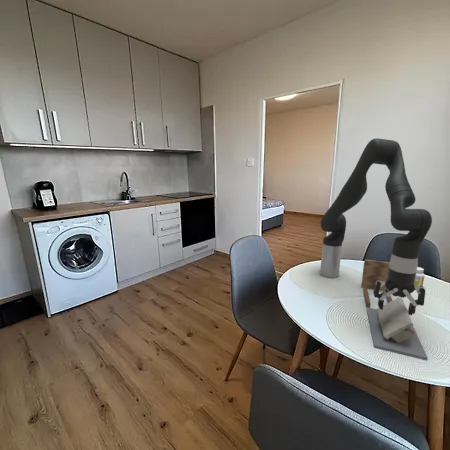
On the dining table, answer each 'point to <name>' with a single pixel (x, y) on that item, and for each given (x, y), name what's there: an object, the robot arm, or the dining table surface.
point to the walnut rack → (374, 277)
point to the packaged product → (396, 321)
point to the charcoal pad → (405, 347)
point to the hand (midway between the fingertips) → (395, 311)
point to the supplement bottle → (419, 277)
